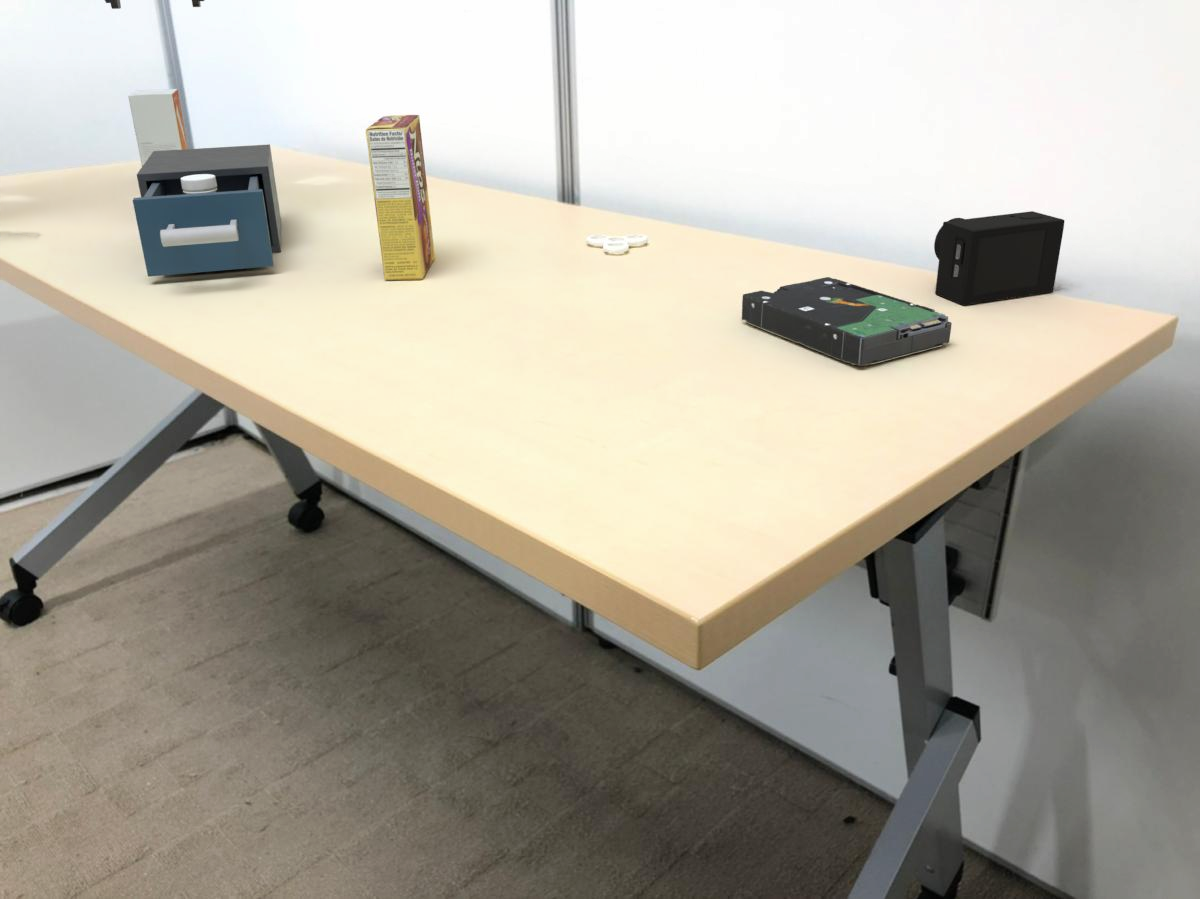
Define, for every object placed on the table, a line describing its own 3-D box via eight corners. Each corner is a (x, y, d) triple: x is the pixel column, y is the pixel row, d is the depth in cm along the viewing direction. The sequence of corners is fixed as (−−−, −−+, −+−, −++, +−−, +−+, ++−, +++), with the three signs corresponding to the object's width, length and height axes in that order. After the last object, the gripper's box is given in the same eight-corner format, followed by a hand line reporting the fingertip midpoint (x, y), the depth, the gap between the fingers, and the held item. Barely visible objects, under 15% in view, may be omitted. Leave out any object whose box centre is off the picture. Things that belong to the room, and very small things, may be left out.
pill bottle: (180, 254, 112) (166, 180, 109) (204, 244, 116) (191, 172, 113) (217, 256, 111) (204, 181, 108) (240, 245, 115) (228, 173, 112)
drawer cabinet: (280, 252, 121) (268, 165, 117) (153, 262, 117) (136, 174, 113) (281, 221, 135) (269, 144, 131) (168, 230, 132) (153, 151, 128)
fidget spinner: (581, 242, 121) (581, 235, 121) (631, 235, 124) (631, 228, 124) (610, 255, 116) (610, 248, 115) (661, 247, 118) (661, 240, 118)
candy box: (396, 259, 117) (382, 114, 110) (435, 258, 116) (423, 113, 110) (380, 281, 108) (364, 126, 102) (422, 280, 108) (408, 125, 102)
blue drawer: (273, 280, 106) (261, 202, 103) (141, 291, 103) (124, 211, 100) (274, 234, 125) (264, 166, 122) (163, 242, 122) (149, 173, 119)
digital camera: (1014, 278, 105) (1024, 207, 102) (1054, 292, 100) (1065, 218, 97) (926, 291, 101) (934, 218, 98) (963, 306, 97) (972, 229, 94)
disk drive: (738, 325, 93) (860, 371, 82) (739, 294, 92) (863, 336, 81) (825, 304, 98) (952, 345, 87) (827, 275, 97) (956, 312, 86)
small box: (188, 182, 162) (172, 93, 156) (144, 185, 160) (126, 95, 155) (193, 173, 169) (178, 87, 163) (151, 176, 167) (134, 89, 162)
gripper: (202, -153, 117) (225, 5, 124) (63, -155, 114) (94, 8, 121) (196, -161, 111) (220, 7, 117) (48, -163, 108) (82, 10, 114)
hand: (156, 7), depth 119 cm, fingers open, 8 cm apart
